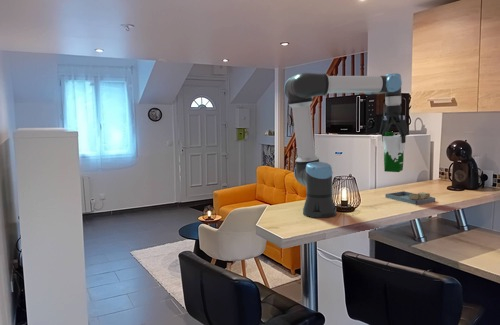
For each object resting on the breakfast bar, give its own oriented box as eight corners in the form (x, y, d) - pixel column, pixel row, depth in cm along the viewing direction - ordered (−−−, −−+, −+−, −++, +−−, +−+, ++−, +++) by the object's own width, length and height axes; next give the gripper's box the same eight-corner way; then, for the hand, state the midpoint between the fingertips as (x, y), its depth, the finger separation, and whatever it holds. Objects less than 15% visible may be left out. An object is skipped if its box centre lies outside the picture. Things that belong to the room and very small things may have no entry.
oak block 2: (424, 202, 188) (424, 194, 187) (417, 200, 191) (417, 193, 191) (429, 201, 189) (429, 193, 189) (423, 199, 193) (423, 192, 193)
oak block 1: (416, 203, 186) (417, 195, 185) (409, 202, 189) (409, 194, 188) (420, 202, 188) (420, 194, 188) (412, 201, 191) (413, 193, 191)
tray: (416, 205, 184) (416, 200, 183) (385, 198, 202) (385, 193, 201) (435, 202, 189) (435, 197, 189) (403, 195, 207) (403, 191, 207)
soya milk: (387, 169, 201) (387, 131, 199) (405, 170, 196) (405, 131, 193) (382, 171, 194) (381, 132, 192) (400, 172, 189) (400, 132, 186)
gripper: (417, 103, 182) (417, 149, 185) (382, 105, 203) (382, 147, 205) (405, 104, 179) (406, 151, 182) (371, 106, 199) (372, 148, 202)
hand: (393, 149), depth 194 cm, fingers closed on soya milk, 10 cm apart
